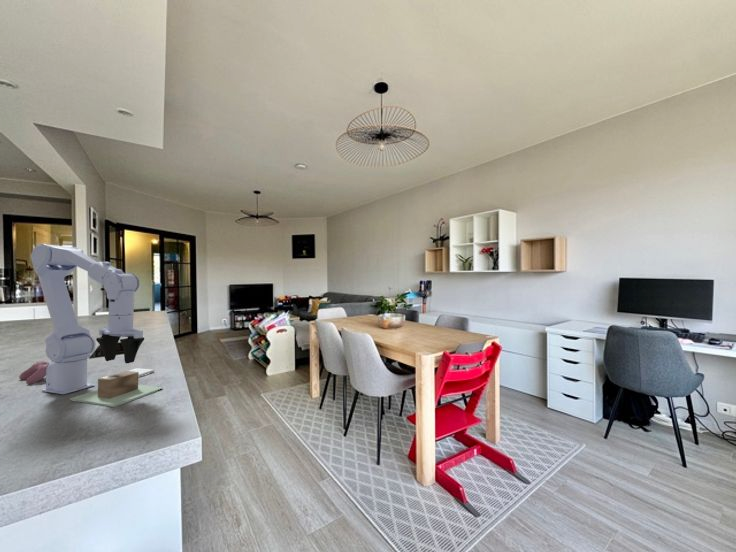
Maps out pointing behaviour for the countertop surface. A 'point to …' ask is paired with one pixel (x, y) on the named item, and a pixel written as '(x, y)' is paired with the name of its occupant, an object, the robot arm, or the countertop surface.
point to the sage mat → (117, 400)
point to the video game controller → (35, 372)
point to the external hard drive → (142, 371)
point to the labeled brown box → (117, 384)
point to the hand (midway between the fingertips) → (119, 361)
